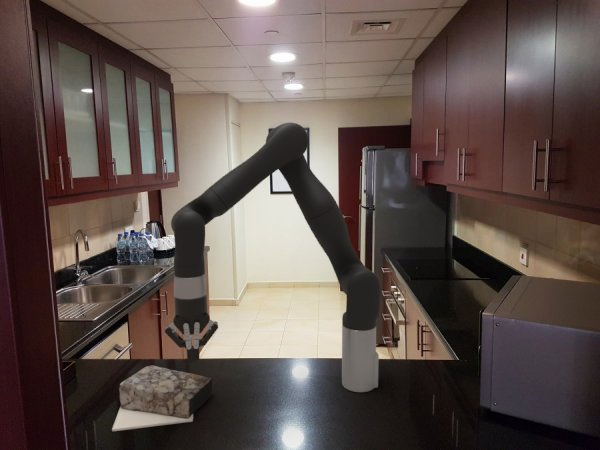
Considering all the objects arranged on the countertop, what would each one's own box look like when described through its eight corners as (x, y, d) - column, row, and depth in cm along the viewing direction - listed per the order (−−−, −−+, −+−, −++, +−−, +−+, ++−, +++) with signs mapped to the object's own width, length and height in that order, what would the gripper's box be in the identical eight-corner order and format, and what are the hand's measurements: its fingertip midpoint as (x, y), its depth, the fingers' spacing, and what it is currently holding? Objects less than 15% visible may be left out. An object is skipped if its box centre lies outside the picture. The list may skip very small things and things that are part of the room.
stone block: (189, 393, 101) (117, 380, 107) (187, 422, 101) (116, 408, 107) (214, 374, 114) (149, 363, 119) (213, 400, 114) (148, 388, 119)
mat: (194, 397, 113) (194, 395, 113) (192, 421, 102) (192, 419, 102) (121, 405, 109) (121, 403, 109) (112, 431, 98) (112, 429, 98)
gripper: (218, 287, 107) (220, 353, 109) (163, 290, 104) (166, 358, 107) (219, 295, 100) (221, 366, 102) (159, 299, 97) (163, 372, 99)
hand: (193, 361), depth 104 cm, fingers closed
